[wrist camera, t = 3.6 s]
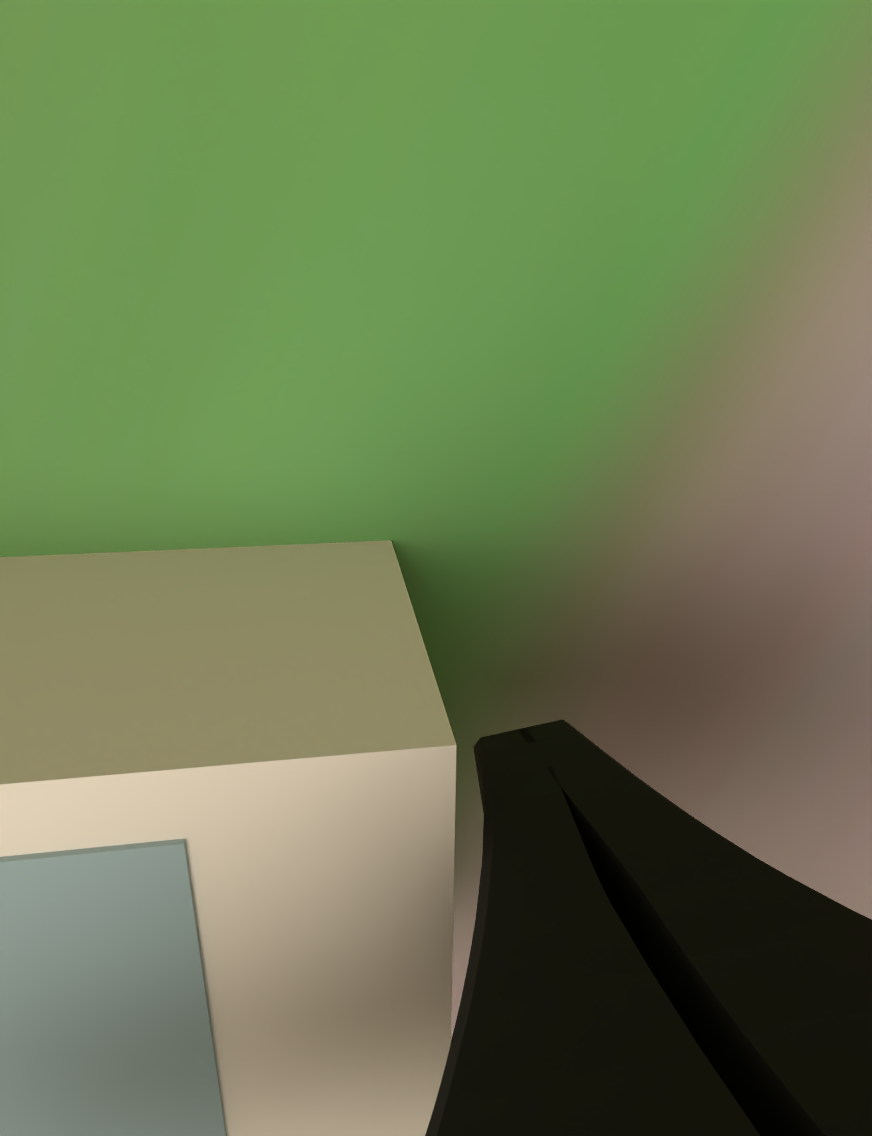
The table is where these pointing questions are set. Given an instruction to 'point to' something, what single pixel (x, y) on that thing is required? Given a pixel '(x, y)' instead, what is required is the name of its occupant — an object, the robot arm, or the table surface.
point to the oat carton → (222, 845)
